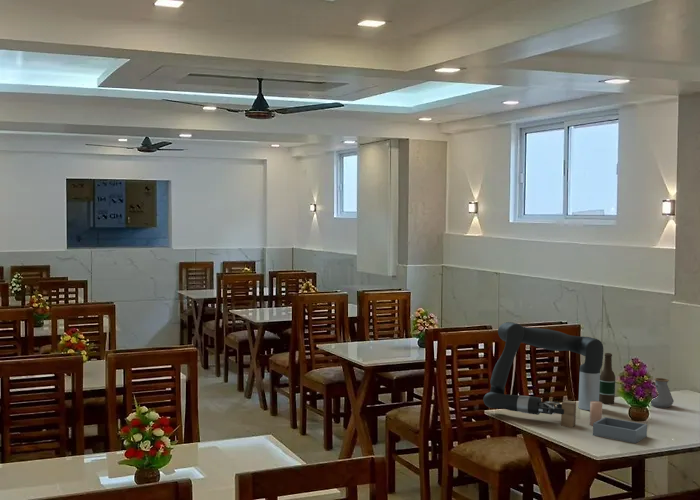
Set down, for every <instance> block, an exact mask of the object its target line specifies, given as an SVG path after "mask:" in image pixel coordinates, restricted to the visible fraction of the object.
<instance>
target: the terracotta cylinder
mask: <svg viewBox="0 0 700 500" xmlns="http://www.w3.org/2000/svg"><path fill="white" fill-rule="evenodd" d="M602 418H603V403H602V402H600V401H590V410H589V425H590V426H591V427H593V423H595V422H596V421H598V420H600V419H602Z"/></svg>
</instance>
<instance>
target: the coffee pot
mask: <svg viewBox="0 0 700 500" xmlns="http://www.w3.org/2000/svg"><path fill="white" fill-rule="evenodd" d="M654 380H655V383H654V384H655V385H656V388H657V391H658V393H659V395H658V397H657V398H655V399H653V400H652V401H651V403H650V404H651V406H653V407H656V408H662V409H663V408H664V409H666V408H670V406H672V405H673V404H674V399H673V396H672V393H671V391H670V388H669V385H668V383H669V381H670V380H669V379H667V378H662V377H655V378H654Z"/></svg>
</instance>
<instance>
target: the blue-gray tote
mask: <svg viewBox="0 0 700 500" xmlns="http://www.w3.org/2000/svg"><path fill="white" fill-rule="evenodd" d="M647 432H648V424H646V423H642V422H641V423H640V422H635V421H629V420H622V419H618V418H611V417H606V416H604V417H602V419H600V420H598V421H596V422H595V423H593V426H592V436H594V437H601V438H604V439H605V438H606V439H611V440H616V441H621V442H626V443H630V444H637V443H639V442H640V441H641V440H644V439H646V437H647V436H648V435H647V434H648V433H647Z"/></svg>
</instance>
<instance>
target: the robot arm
mask: <svg viewBox="0 0 700 500" xmlns="http://www.w3.org/2000/svg"><path fill="white" fill-rule="evenodd" d="M497 329H498V330H497V334H498V337H499V338H500V339H501V340H502V341H503V342H505V344H504V348H503V351H502V353H501V355H500V356H499V358H498V359H497V362H496V363H495V365H494V367H493V370H492V372H491V378H490V382H489V383H490V389H489V392H487V393H486V394H485V395H484V396H483V398H482V400H483V403H484V405H485V406H486V407H488V408H490V409H501V410H507V411H512V412H519V413H522V414H528V415H540V414H547V415H554V414H556V415H561V414H564V409H562V403H561V402H559V401H551V400H546V401H544V402H543V401H542V398H541V397H538V396H530V395H529V396H528V395H518V394H505V390H506V389H505V388H506V384H507V381H508V378H509V373H510V371H511V367H512V365H513V361H514V360H515V357H516V355H517V352H518V350H519V349H520V346H521V344H526V345H530V346H532V347H534V348H539V349H543V350H548V351H555V352H563V351H566V352H567V351H568V352H572V353H574V354H575V353H576V354H579V355H581V356H584V363H582V364H580V365H579V381H578V382H579V383H578V404H577V405H578V406H577V407H578V408H579V409H580V410H584V411H590V401H599V390H600V375H601V368H602V366H603V364H604V361H603V360H604V344H603V342H602V341H601V340H600V339H598V338H593V337H590V336H578V335H570V334H567V333H565V332H562V331H559V330H554V329H549V328H548V329H547V328H541V327H540V328H539V327H538V328H537V327H526V326H522V325H521V324H520V323H518V322H517V323H516V322H511V321H508V322H504V323H502V324H500V325H499V327H498V328H497Z"/></svg>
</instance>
